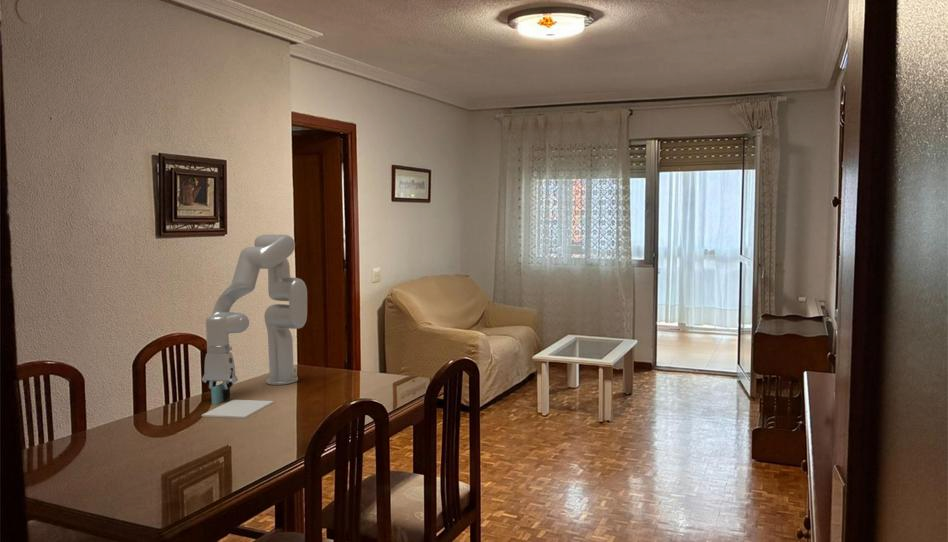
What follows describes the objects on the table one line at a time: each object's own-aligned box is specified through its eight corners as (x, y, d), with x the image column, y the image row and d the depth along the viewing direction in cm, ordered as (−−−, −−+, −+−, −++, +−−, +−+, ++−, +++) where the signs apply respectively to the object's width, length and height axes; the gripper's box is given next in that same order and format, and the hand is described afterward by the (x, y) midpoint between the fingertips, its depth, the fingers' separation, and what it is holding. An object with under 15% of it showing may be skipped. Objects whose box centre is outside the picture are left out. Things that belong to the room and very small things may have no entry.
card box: (225, 398, 262) (224, 382, 262) (229, 398, 262) (228, 382, 261) (211, 404, 253) (210, 387, 253) (215, 404, 253) (215, 388, 253)
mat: (233, 401, 256) (233, 399, 256) (273, 402, 253) (273, 401, 253) (201, 416, 237) (201, 414, 237) (244, 418, 234) (244, 416, 234)
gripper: (244, 348, 258) (247, 397, 259) (203, 347, 261) (205, 395, 263) (233, 351, 251) (236, 402, 252) (191, 351, 254) (194, 401, 255)
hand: (220, 398), depth 257 cm, fingers open, 4 cm apart
